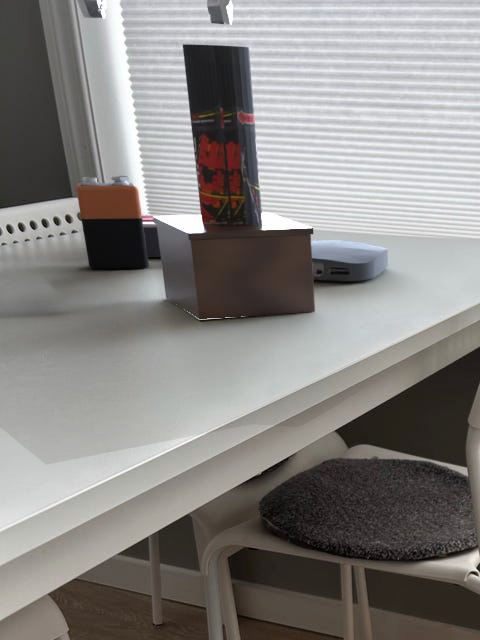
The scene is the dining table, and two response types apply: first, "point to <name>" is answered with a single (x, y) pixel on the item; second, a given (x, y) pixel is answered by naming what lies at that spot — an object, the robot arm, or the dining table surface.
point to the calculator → (153, 234)
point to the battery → (112, 224)
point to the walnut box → (237, 266)
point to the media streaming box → (347, 260)
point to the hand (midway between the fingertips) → (159, 14)
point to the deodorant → (223, 134)
